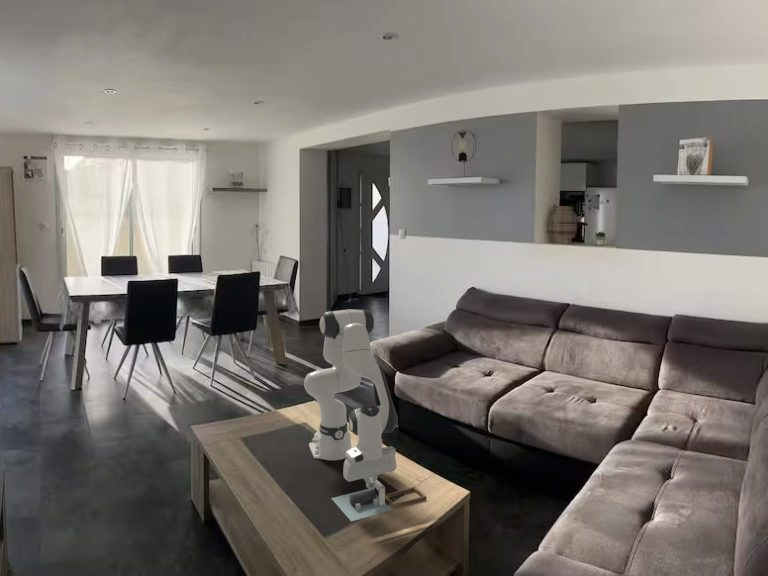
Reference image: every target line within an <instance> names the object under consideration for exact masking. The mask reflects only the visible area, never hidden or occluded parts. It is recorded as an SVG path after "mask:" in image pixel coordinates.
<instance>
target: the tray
mask: <svg viewBox="0 0 768 576" xmlns="http://www.w3.org/2000/svg"><path fill="white" fill-rule="evenodd" d="M411 492H414V493H415V494H417V495H418V496H419V497H416V498H411V499H409V500H404V501H401V502H397V503H394V502H393V500H392V499H390V498H391V497H392V498H393V497H396V496H400V495H404V494H407V493H411ZM422 501H427V496H426V495H425V494H424V493H423V492H421V491H420V490H419V489H418V488H417V487H416V486H411V487H409V488H404V489H401V490H397V491H394V492H389V493H385V502H387V503H388V504H389V505H390V506H391V507H392V508H393V509H398V508H401V507H405V506H408V505H411V504H412V505H413V504H414V503H415V504H416V503H420V502H422Z"/></svg>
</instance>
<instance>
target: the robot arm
mask: <svg viewBox="0 0 768 576" xmlns="http://www.w3.org/2000/svg"><path fill="white" fill-rule="evenodd" d="M374 321H375V320H374V316H373V313H372V312H371V311H370V310H368V309H367V310H366V309H341V310H334V311H332V310H328V311H325V312H323V313H322V315H321V316H320V320H319V329H320V332H321V335H323V336H324V342H323V349H322V356H323V357H324V358H323V359H324V360H325V361H326V362H327V363H329V364H330V365H332V367H329V368H324V369H316V370H315V371H312V372H309V373H307V374H306V376H305V377H304V381H303V382H304V383H303V385H304V389H305V391H306V393H307V394H308V395H309V396H311V397H313V398H314V399H315V400H316V402H317V403H318V406H319V409H320V410H319V412H320V423H319V429H318V431H316V432H315V433H314V435H313V438H312V439H311V442H309V443H308V447H309V449H310V451H311V454H312V456H313V458H314V459H316V460H317V459H318V460H325V461H340V460H344V462H343V468H342V469H343V471H342V473H343V478H344V479H345V480H346V481H347V482H348V483H349V482H354V481H357V480H358V481H359V480H363V481H364V482H365V487H366V489H368V488H369V487H373V486H375V481H376V479H377V480H378V478H379V475H383V474H386V473H391V472H394V471H395V470H396V469H397V459H396V454H397V453H396V452H397V451H396V448H395V447H394V446H391V445H390V446H386V447H383V439H382V434H383V433H391V432H393V431H394V430H395V428H396V427H397V426H398V423H399V419H398V418H399V417H398V414H397V411H396V408H395V405H394V403H393V400H392V397H391V396H392V395H391V392H390V389H389V386H388V383H387V382H388V380H387V379H386V375H385V371H384V369H383V367H382V365H381V364H380V363H378V362H377V361H376V359H375V358H374V356H373V354H372V348H371V347H372V346H371V341H370V336H369V335H370V334H371V333H372V332H373V331H374V327H375V322H374ZM362 378H365V379H368V380H370V381H371V382H372V383H373V384H374V386H375V389H376V392H377V397H378V399H379V403H380V405H377V406H376V405H372V404H366V405H363V406H361V407H360V408H359V407H358V408H354V409H352V410H351V412H350V413H349V415H348V422H347V407H346V405H345V403H344V402H343V401H341V400H339V399H336V398H335V394H337V393H344V392H348V391H351V390H353V389H356V388H358V387H360V384H361V381H362ZM348 429H349V431H350V432H351V433H352V434H354V435H355V436H358V440H357V444H356V445H355V446H352V439H351V433H350V432H349V431H348ZM372 476H373V477H372ZM369 477H372V480H371V481H368V479H369Z"/></svg>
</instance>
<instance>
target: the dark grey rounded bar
mask: <svg viewBox="0 0 768 576" xmlns="http://www.w3.org/2000/svg"><path fill="white" fill-rule="evenodd" d="M377 496H378V495H377V493H376V491H375V489H374V490H370V491H366V492H362V493H358V494H354V495H350V503H351V505H352V507H354V506H356V504H357V503H360V504H361V505H362V504H365V503H369V502H373V499H376V498H377Z"/></svg>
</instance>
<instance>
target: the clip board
mask: <svg viewBox="0 0 768 576" xmlns="http://www.w3.org/2000/svg"><path fill="white" fill-rule="evenodd" d="M366 491H368V488H366V489H362V490H359V491H354V492H351V493H346V494H344V495H338V496H335V497H331V500H332V501H333V502H334V503H335V504H336V506H337V507H338V508H339V509H340V510H341V511H342V513H344V515H345V516H346V517H347V518H348V519H349V521H350V522H355V521H358V520H362V519H365V518H368V517H373V516H376V515H379V514H384V513H387V512H391V511H392V510H393V509H392V508H390V506H388V504H387V503H385V505H382V506H380V505H379V495H377V498H376V499H373V502H369V503H365V504H362V505H361V504H360V503H357V504H356V506H354V507H352V505H351V503H350V495H354V494H358V493H362V492H366Z"/></svg>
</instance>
